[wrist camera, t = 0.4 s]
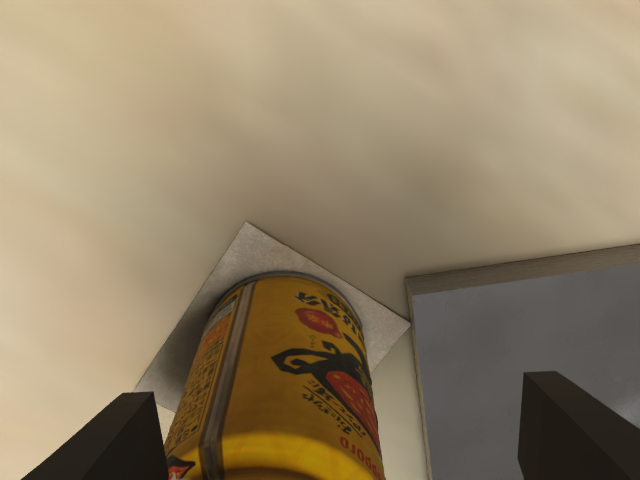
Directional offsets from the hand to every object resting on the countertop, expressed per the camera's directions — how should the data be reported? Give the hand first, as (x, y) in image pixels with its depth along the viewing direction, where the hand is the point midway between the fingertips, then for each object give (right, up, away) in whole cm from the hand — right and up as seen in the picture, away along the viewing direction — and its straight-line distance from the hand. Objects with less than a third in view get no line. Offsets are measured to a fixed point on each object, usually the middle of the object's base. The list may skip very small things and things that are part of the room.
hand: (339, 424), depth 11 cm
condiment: (-2, -1, +11) cm, 12 cm away
